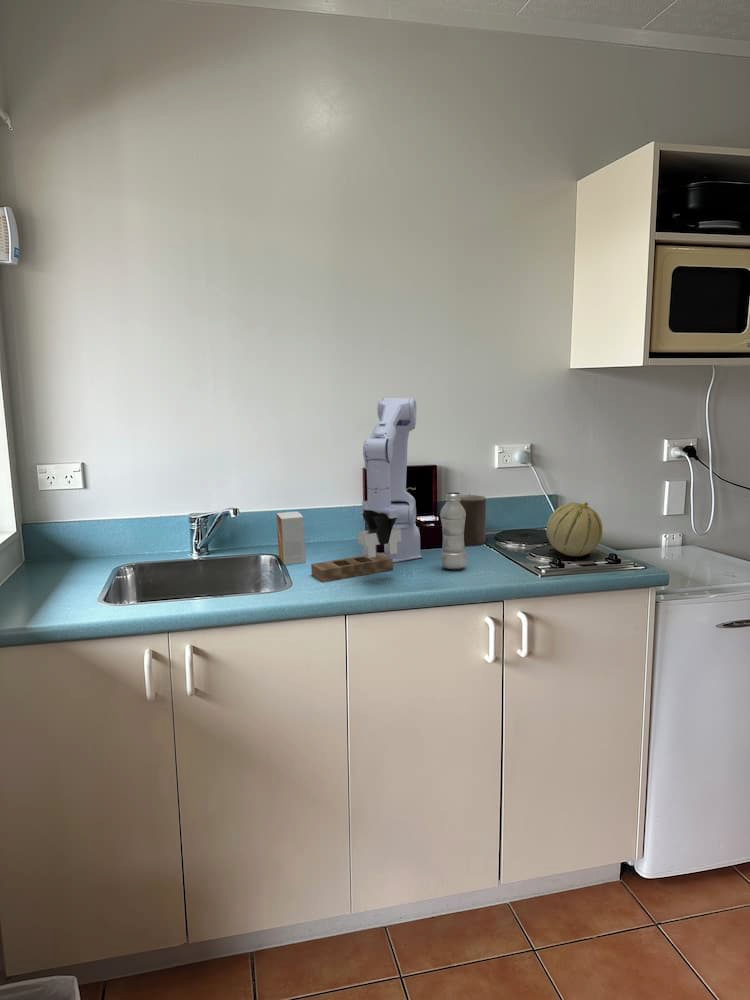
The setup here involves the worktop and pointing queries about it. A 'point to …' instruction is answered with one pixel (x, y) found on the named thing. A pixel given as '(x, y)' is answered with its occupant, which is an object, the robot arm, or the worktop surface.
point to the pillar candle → (474, 519)
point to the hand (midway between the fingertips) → (380, 541)
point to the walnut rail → (351, 567)
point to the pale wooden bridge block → (371, 540)
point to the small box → (291, 538)
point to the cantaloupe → (574, 529)
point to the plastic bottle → (453, 532)
